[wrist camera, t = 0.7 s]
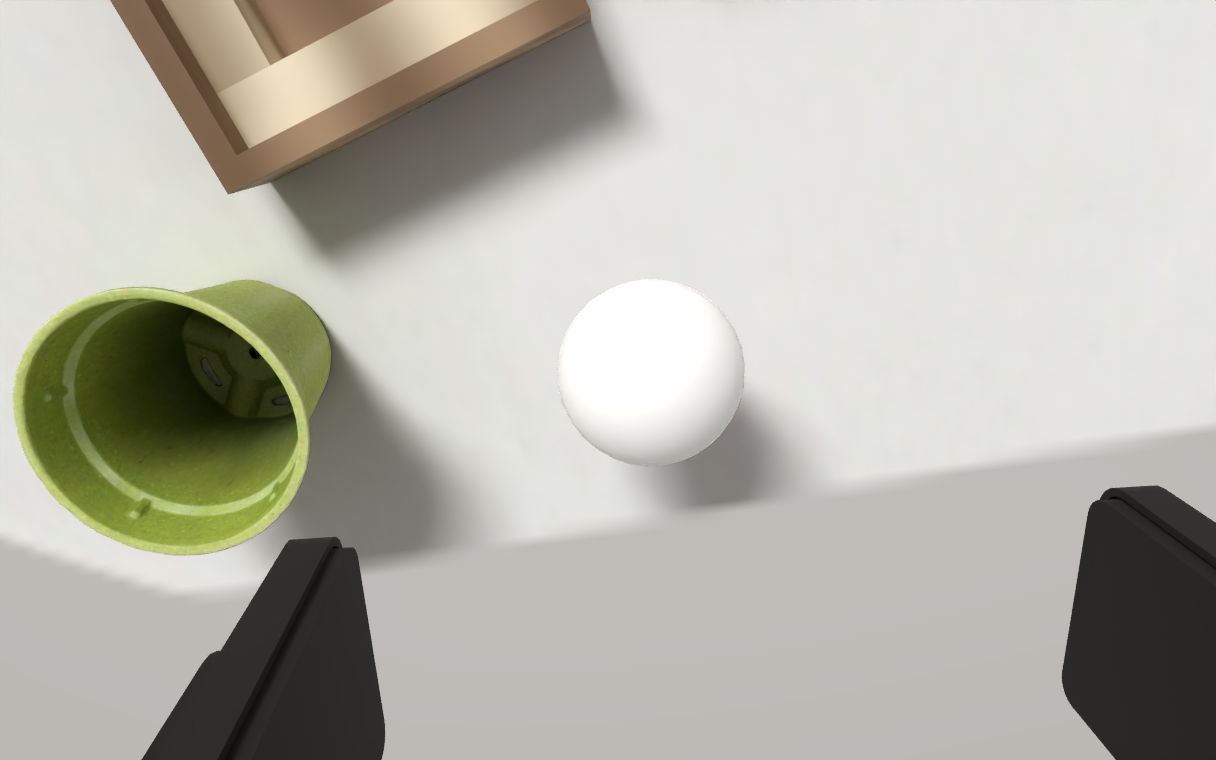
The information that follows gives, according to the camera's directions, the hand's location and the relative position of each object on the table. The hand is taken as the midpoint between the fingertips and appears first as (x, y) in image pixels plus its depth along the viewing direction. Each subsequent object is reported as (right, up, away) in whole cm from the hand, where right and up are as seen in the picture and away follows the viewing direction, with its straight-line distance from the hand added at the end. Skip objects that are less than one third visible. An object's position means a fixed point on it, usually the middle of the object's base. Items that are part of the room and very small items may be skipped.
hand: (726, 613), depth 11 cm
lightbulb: (0, +6, +25) cm, 25 cm away
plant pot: (-16, +4, +25) cm, 30 cm away
